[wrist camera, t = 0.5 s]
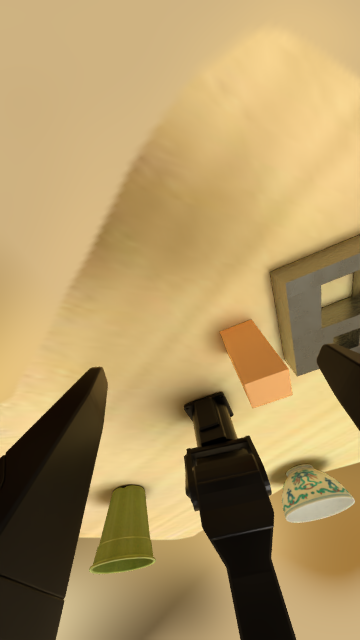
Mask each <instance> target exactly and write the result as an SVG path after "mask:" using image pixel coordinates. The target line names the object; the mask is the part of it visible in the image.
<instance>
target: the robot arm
mask: <svg viewBox="0 0 360 640" xmlns="http://www.w3.org/2000/svg"><path fill="white" fill-rule="evenodd" d="M316 361H317V365H318V367H319V368H320V370H321V372H322V374H323V375H324V377H325V379H326V380H327V382H328V384H329V386H330V387H331V389H332V391H333V393H334V394H335V396H336V398H337V399H338V401H339V402H340V404H341V405H342V406H343V408H344V409H345V411H346V412H347V414H348V415H349V416H350V418H351V419H352V421H353V422H354V423H355V425H356V426H357V428H358V429H359V431H360V353H357V352H355V351H352V350H350V349H347V348H345V347H342V346H340V345H338V344H334V343H330V344H324V345H323V346H322V347H321V349H320V352H319V354H318V356H317V360H316ZM107 388H108V383H107V379H106V376H105V373H104V370H103V368H102V367H92V368H90V369H89V370H88V371H87V372H86V373H85V374H84V375H83V376H82V377H81V378H80V379H79V380H78V381H77V382H76V383H75V384H74V385H73V386H72V387H71V388H70V389H69V390H68V391H67V392H66V393H65V394H64V395H63V396H62V397H61V398H60V399H59V400H58V401H57V402H56V403H55V404H54V405H53V406H52V407H51V408H50V409H49V410H48V411H47V412H46V413H45V414H44V415H43V416H42V417H41V418H40V419H39V420H38V421H37V422H36V423H35V424H34V425H33V426H32V427H31V428H30V429H29V430H28V431H27V432H26V433H25V434H24V435H23V436H22V437H21V438H20V439H19V440H18V441H17V442H16V443H15V444H14V445H13V446H12V447H11V448H10V449H9V450H8V451H7V452H6V454H5V455H3V456H2V457H1V458H0V640H56V636H57V632H58V627H59V622H60V618H61V614H62V609H63V605H64V598H65V595H66V591H67V586H68V582H69V577H70V573H71V568H72V564H73V559H74V555H75V550H76V546H77V541H78V537H79V533H80V528H81V524H82V519H83V515H84V510H85V506H86V501H87V497H88V492H89V488H90V483H91V479H92V475H93V470H94V466H95V461H96V457H97V452H98V448H99V443H100V439H101V434H102V430H103V424H104V416H105V407H106V397H107ZM184 410H185V411H186V413H187V414H188V415H189V417H190V418H191V420H192V421H193V424H194V430H195V436H196V441H197V448H192V449H191V448H189V449H187V454H186V455H185V456H184V461H185V472H186V495H187V496H188V497H189V498H190V499H191V502H192V503H193V507H194V510H195V511H199V510H200V517H201V523H202V527H203V530H204V531H205V533H206V535H207V536H208V538H209V539H210V541H211V543H212V544H213V546H214V548H215V549H216V551H217V552H218V554H219V556H220V558H221V559H222V561H223V563H224V564H225V566H226V568H227V573H228V578H229V583H230V588H231V592H232V598H233V603H234V608H235V613H236V619H237V624H238V629H239V634H240V639H241V640H296V637H295V634H294V631H293V628H292V624H291V621H290V618H289V615H288V612H287V608H286V605H285V602H284V599H283V596H282V592H281V589H280V586H279V583H278V580H277V576H276V573H275V570H274V566H273V563H272V560H271V552H272V537H273V526H274V511H273V508H272V505H271V502H270V499H269V496H270V495H271V487H270V483H269V480H268V477H267V474H266V471H265V468H264V466H263V464H262V462H261V459H260V457H259V455H258V453H257V451H256V449H255V447H254V445H253V443H252V440H251V438H250V436H245V437H244V438H239V439H238V438H237V435H236V432H235V430H234V427H233V424H232V421H231V418H230V417H232V416H233V412H232V410H231V408H230V406H229V404H228V401H227V399H226V397H225V395H224V393H222V392H220V393H217V394H214V395H211V396H209V397H206V398H203V399H200V400H197V401H195V402H192V403H189V404H186V405H184Z"/></svg>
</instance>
